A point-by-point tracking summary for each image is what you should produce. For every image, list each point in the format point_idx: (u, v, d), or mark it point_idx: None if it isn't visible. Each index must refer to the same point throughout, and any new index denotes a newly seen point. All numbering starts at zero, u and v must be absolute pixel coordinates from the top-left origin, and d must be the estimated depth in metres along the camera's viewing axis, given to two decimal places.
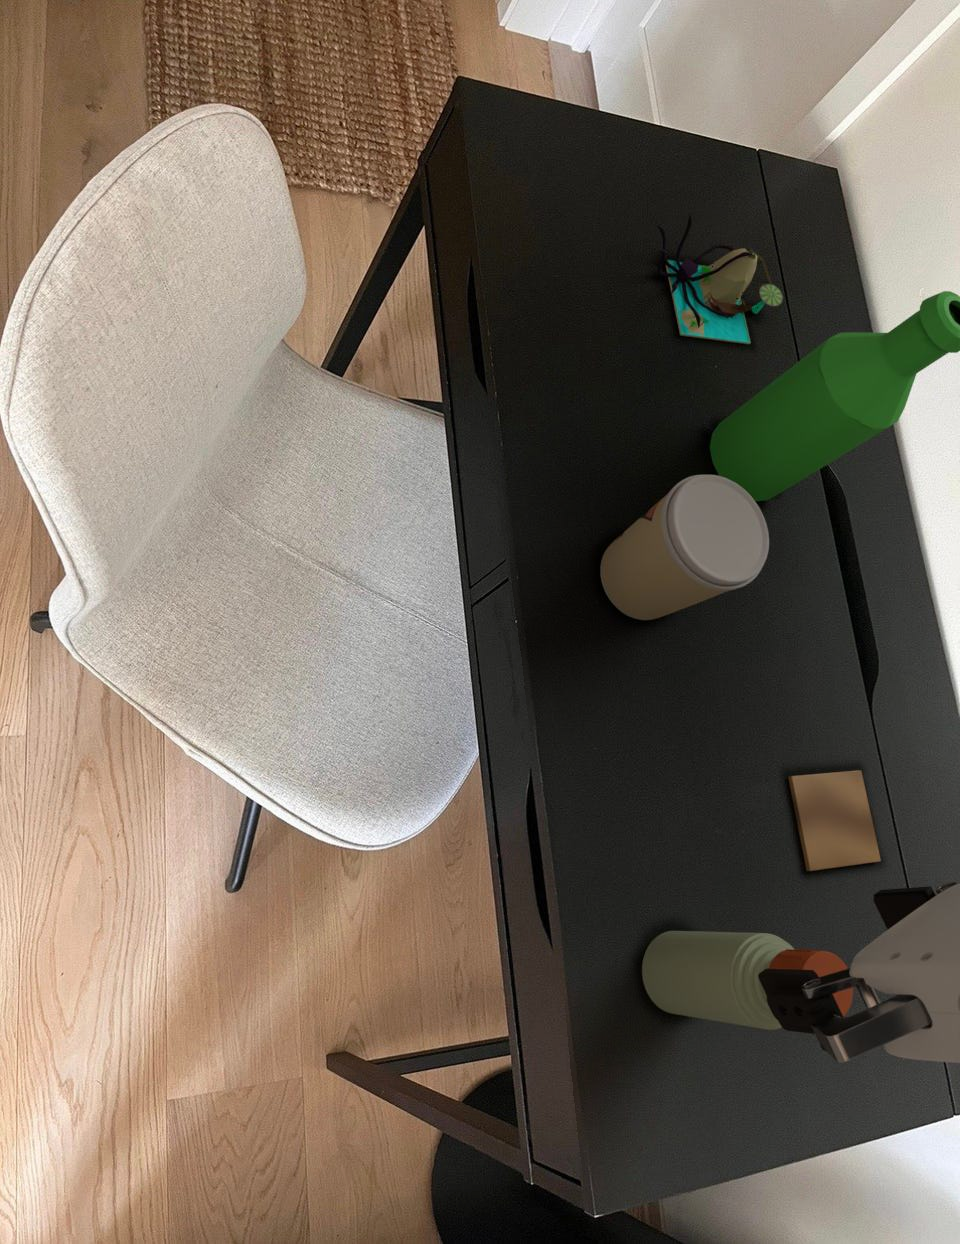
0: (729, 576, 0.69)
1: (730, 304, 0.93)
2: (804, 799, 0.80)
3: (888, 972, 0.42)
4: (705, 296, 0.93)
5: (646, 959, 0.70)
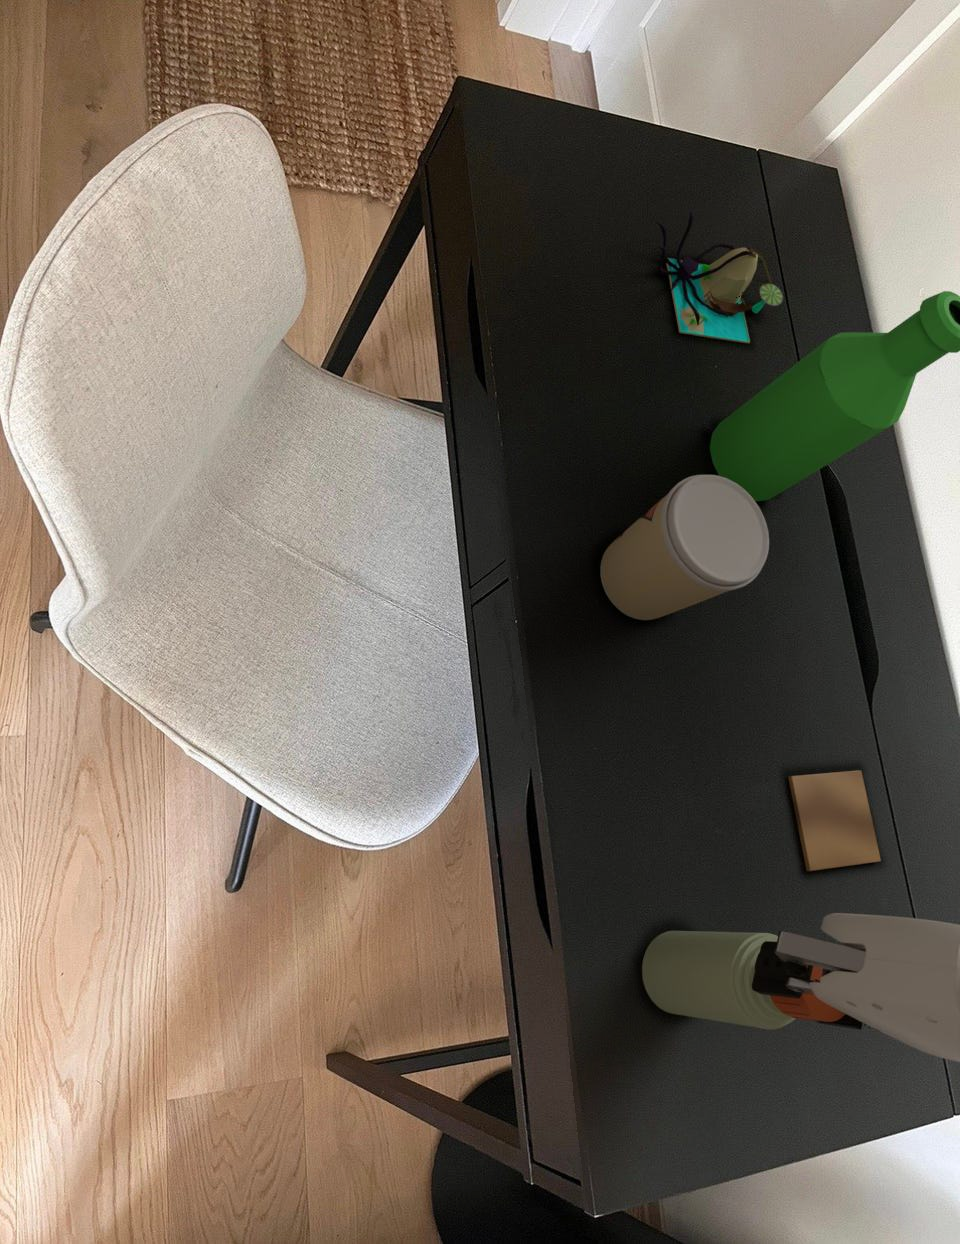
0: (729, 576, 0.69)
1: (730, 303, 0.93)
2: (804, 799, 0.80)
3: None
4: (705, 295, 0.93)
5: (646, 959, 0.70)
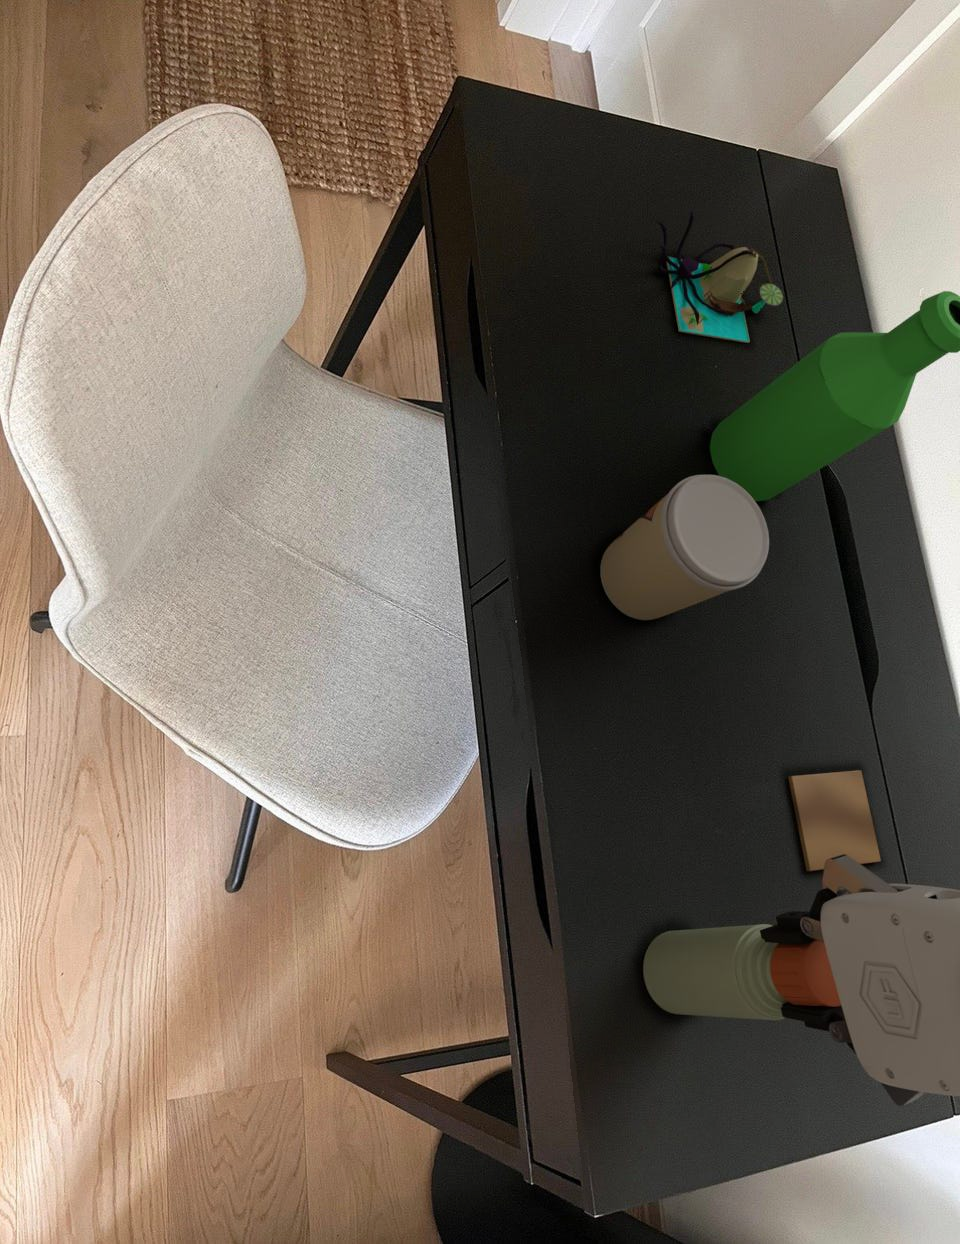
0: (729, 576, 0.69)
1: (730, 302, 0.93)
2: (804, 799, 0.80)
3: None
4: (705, 294, 0.93)
5: (647, 959, 0.70)
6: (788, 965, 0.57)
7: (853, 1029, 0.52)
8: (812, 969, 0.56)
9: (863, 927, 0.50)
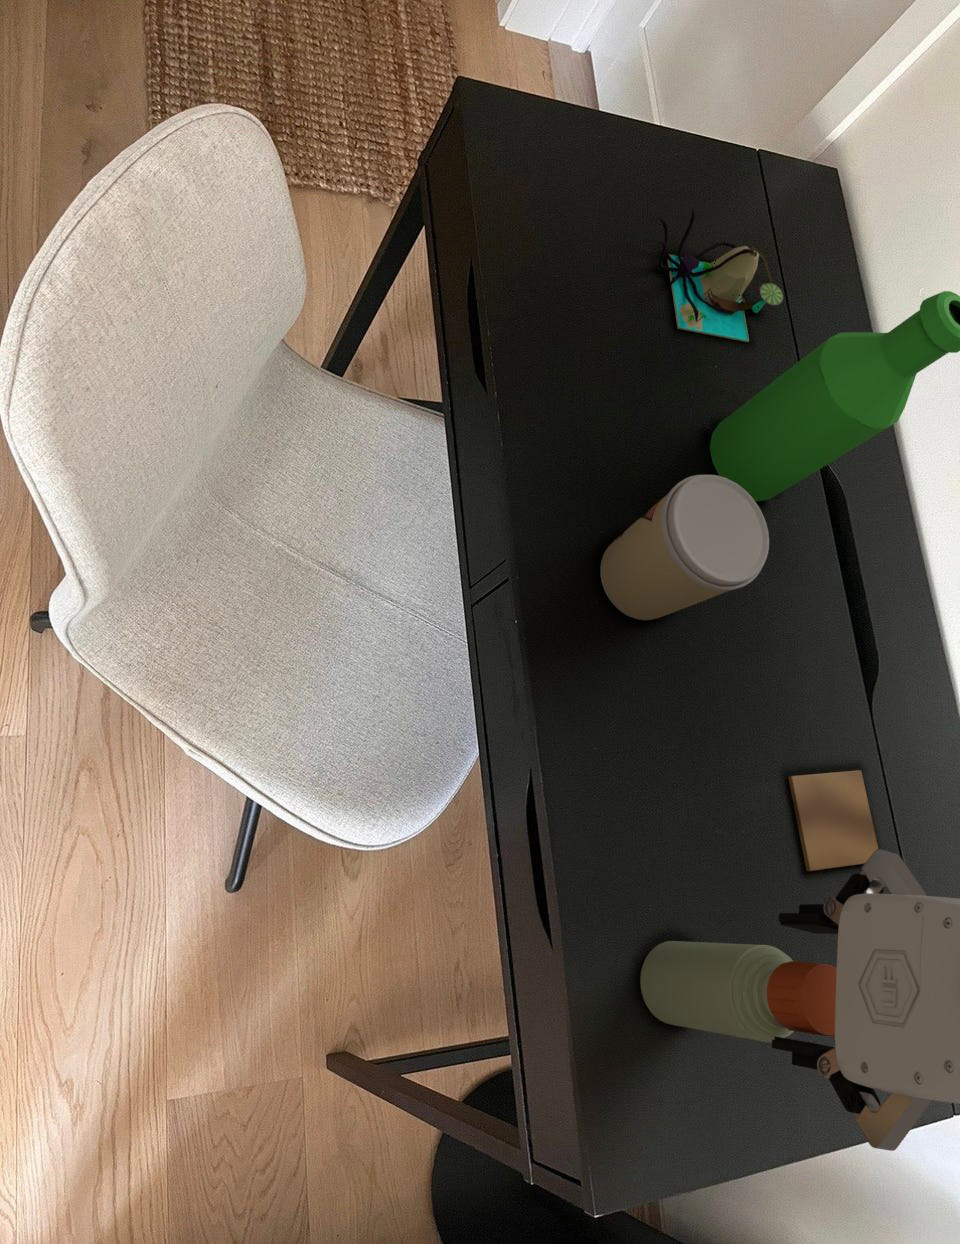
0: (729, 576, 0.69)
1: (730, 301, 0.93)
2: (804, 799, 0.80)
3: None
4: (705, 293, 0.93)
5: (644, 970, 0.70)
6: (785, 992, 0.57)
7: (840, 1021, 0.51)
8: (809, 998, 0.56)
9: (883, 915, 0.51)
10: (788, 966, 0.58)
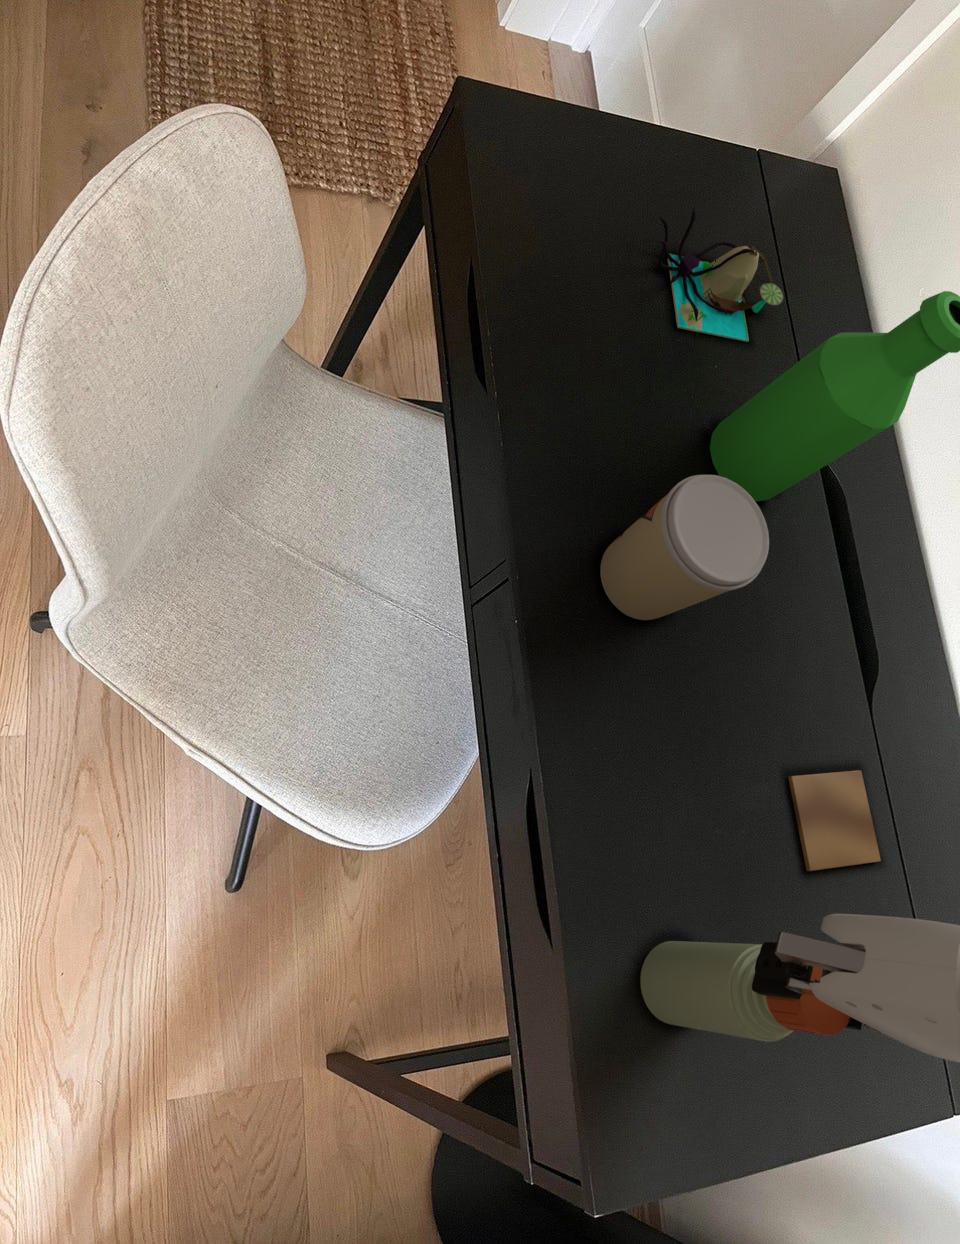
0: (729, 576, 0.69)
1: (730, 301, 0.93)
2: (804, 799, 0.80)
3: None
4: (705, 292, 0.93)
5: (644, 970, 0.70)
6: None
7: None
8: (808, 997, 0.56)
9: None
10: None
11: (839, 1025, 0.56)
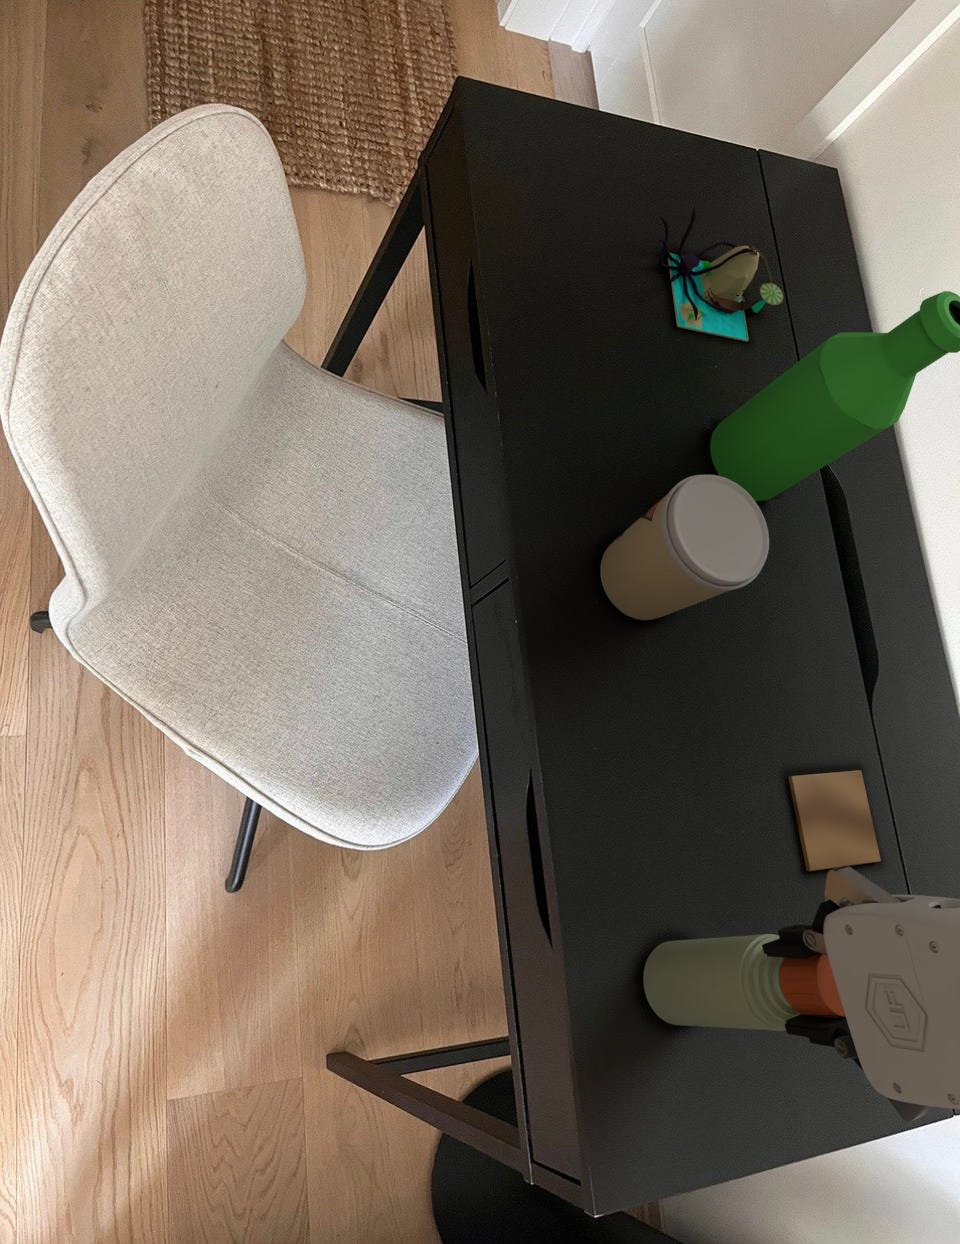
0: (729, 576, 0.69)
1: (730, 301, 0.93)
2: (804, 799, 0.80)
3: None
4: (705, 292, 0.93)
5: (647, 969, 0.69)
6: None
7: (859, 1043, 0.51)
8: None
9: (867, 939, 0.50)
10: (807, 1011, 0.58)
11: None
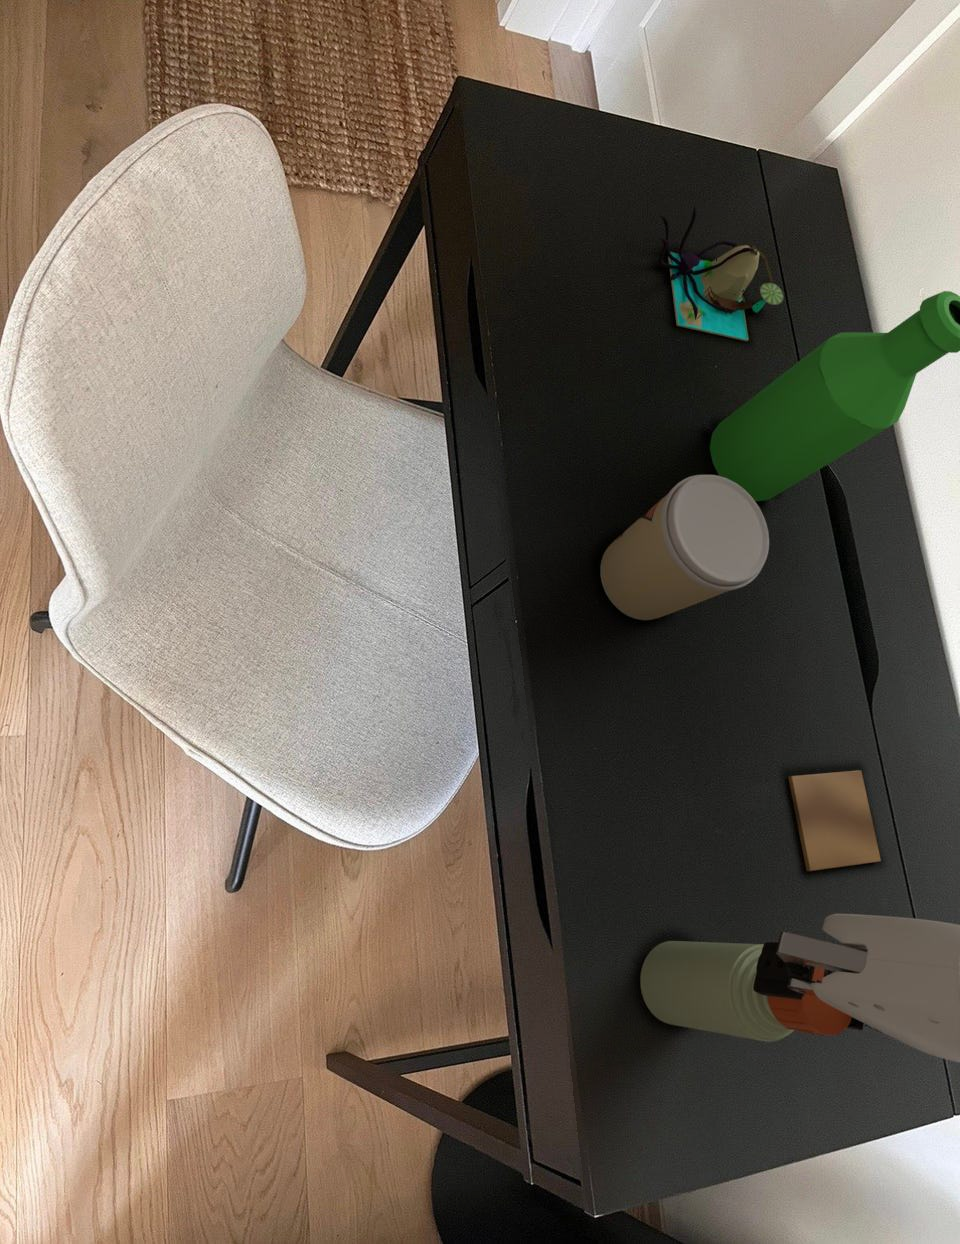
0: (729, 576, 0.69)
1: (730, 300, 0.93)
2: (804, 799, 0.80)
3: None
4: (705, 291, 0.93)
5: (644, 969, 0.70)
6: None
7: None
8: (841, 1019, 0.56)
9: None
10: (793, 1027, 0.57)
11: None
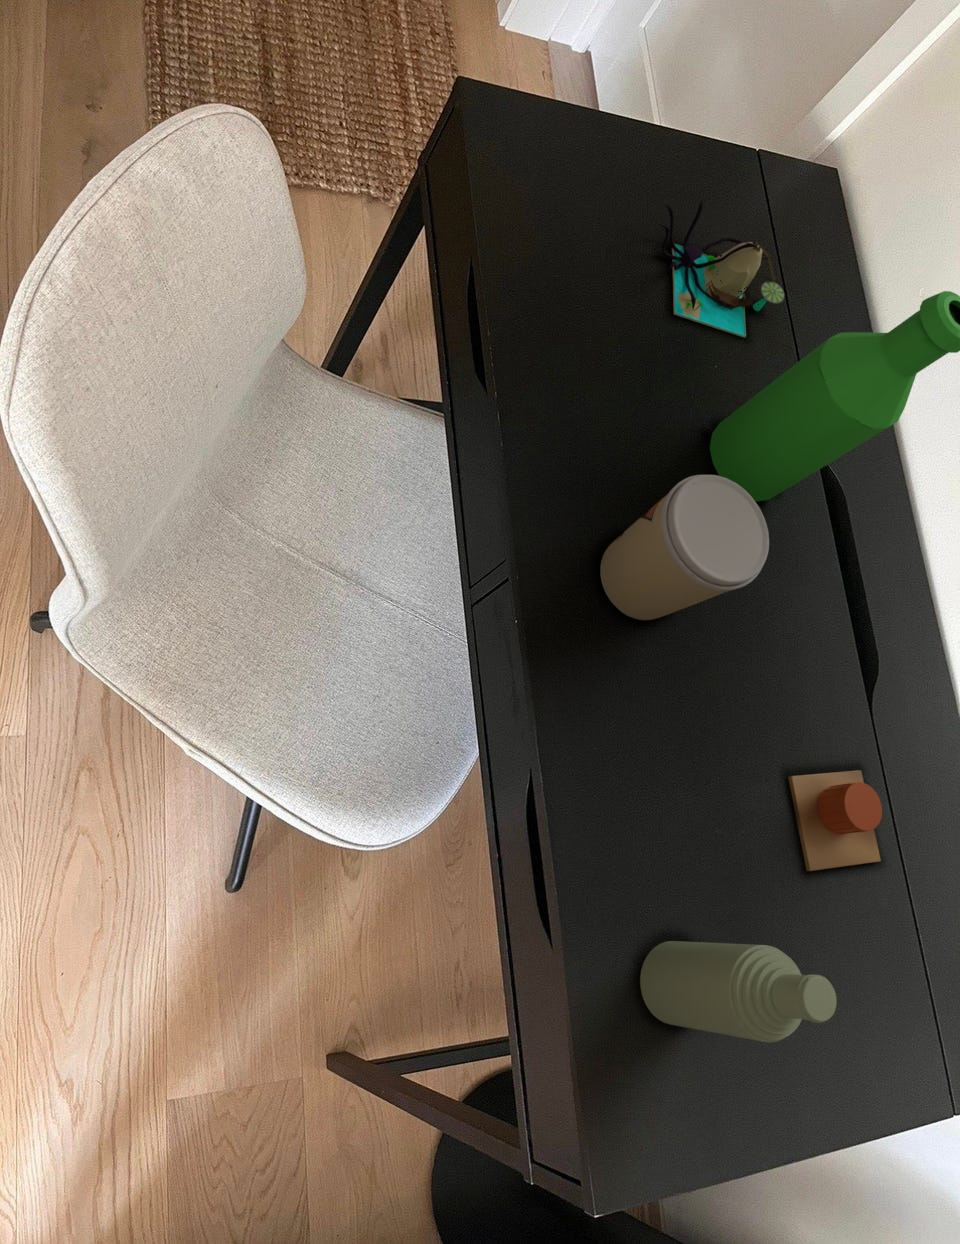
0: (729, 576, 0.69)
1: (731, 296, 0.94)
2: (804, 799, 0.80)
3: None
4: (707, 285, 0.94)
5: (644, 970, 0.70)
6: (840, 786, 0.79)
7: None
8: (855, 791, 0.78)
9: None
10: None
11: (858, 824, 0.77)
